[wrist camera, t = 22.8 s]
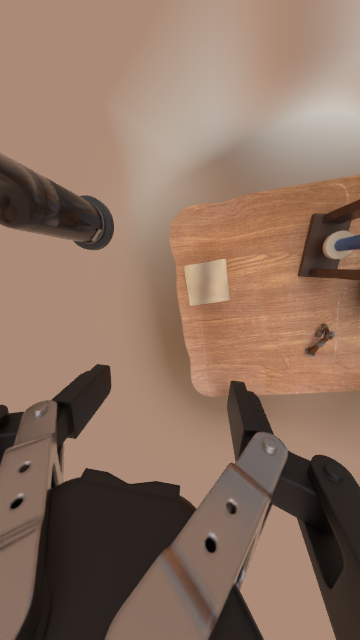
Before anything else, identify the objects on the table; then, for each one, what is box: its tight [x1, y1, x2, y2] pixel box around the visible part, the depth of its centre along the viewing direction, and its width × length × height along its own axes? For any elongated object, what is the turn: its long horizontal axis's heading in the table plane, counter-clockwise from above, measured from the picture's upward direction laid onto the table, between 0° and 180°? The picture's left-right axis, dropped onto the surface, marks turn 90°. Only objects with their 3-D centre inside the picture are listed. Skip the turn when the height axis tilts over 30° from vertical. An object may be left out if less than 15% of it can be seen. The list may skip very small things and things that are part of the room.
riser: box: [184, 259, 230, 306], centre depth 38 cm, size 7×7×14 cm
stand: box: [298, 200, 360, 280], centre depth 31 cm, size 7×12×17 cm, turn 177°
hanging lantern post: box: [305, 324, 335, 357], centre depth 44 cm, size 2×8×4 cm, turn 166°
